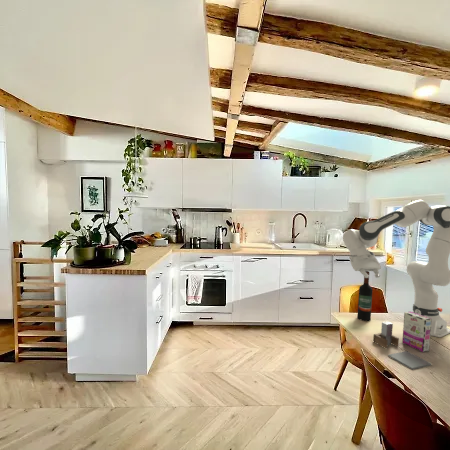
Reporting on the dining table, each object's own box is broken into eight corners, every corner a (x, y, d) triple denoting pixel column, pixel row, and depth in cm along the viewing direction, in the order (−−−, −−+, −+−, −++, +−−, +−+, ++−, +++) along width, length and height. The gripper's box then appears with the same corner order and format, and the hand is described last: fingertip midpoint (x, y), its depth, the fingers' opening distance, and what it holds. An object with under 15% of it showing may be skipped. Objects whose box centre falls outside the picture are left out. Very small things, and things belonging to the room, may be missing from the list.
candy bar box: (429, 351, 148) (432, 318, 147) (423, 352, 146) (425, 319, 145) (408, 341, 158) (410, 310, 157) (401, 342, 156) (403, 311, 155)
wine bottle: (371, 318, 189) (374, 271, 187) (369, 322, 183) (372, 273, 180) (358, 315, 193) (361, 269, 191) (356, 319, 187) (359, 271, 185)
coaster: (406, 352, 146) (406, 350, 146) (431, 365, 134) (431, 363, 134) (388, 356, 141) (388, 354, 141) (412, 369, 130) (412, 368, 130)
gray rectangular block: (386, 342, 156) (387, 321, 156) (391, 344, 154) (392, 323, 153) (380, 343, 155) (381, 322, 154) (385, 345, 152) (387, 324, 151)
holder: (385, 339, 159) (386, 332, 159) (398, 345, 152) (398, 338, 152) (373, 341, 156) (373, 334, 156) (385, 348, 149) (385, 340, 149)
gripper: (352, 251, 162) (365, 274, 155) (375, 253, 172) (388, 274, 165) (344, 257, 166) (356, 280, 159) (367, 258, 177) (379, 280, 169)
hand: (372, 277), depth 162 cm, fingers open, 8 cm apart
